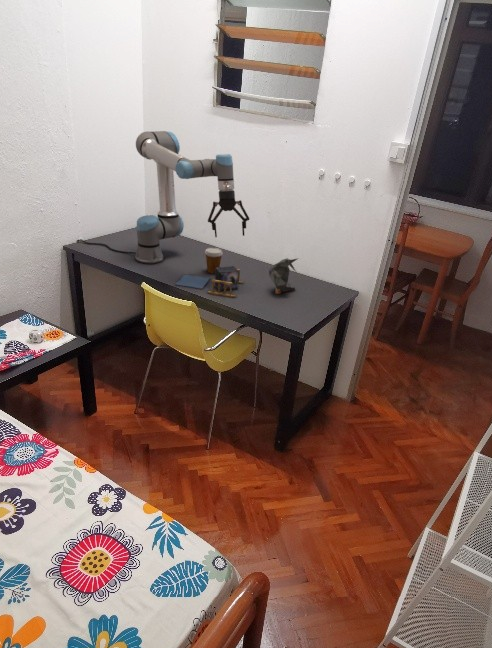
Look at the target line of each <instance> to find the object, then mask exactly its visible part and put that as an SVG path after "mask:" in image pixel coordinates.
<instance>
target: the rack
mask: <svg viewBox="0 0 492 648" xmlns="http://www.w3.org/2000/svg"><path fill="white" fill-rule="evenodd" d="M236 269H237V270H238V271H239V272H238V284H241V285H243V284H244V281H241V280H240V275H241V269H239V268H236ZM215 282H217V283H218V290H217V291H215ZM211 283H212V287H211V291H210V290H207V294H210V295H216V296H222V297H229V298H234V299H235V298H236V297H237V296H236V295H235V294H232V293H233V290H232V282H226V281H220V280H215V279H212V280H211ZM220 283H224V291H223V292H221V291H220ZM226 284H230V290H229V293H227V290H226Z"/></svg>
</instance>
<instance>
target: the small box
mask: <svg viewBox="0 0 492 648" xmlns="http://www.w3.org/2000/svg"><path fill="white" fill-rule="evenodd" d="M237 269H238V268H236V267H235V266H234V265H232V266H220V267H218V268H216V272H215V273H214V274H215V275H214V280H220V281H226V282H232V291H233V290H238V284H239V283H238V272H239V271H238V270H237ZM214 288H216V290H217V291H218V283H217V282H214ZM222 291H223V292H224V283H220V292H222ZM226 291H230V284H226Z"/></svg>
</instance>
